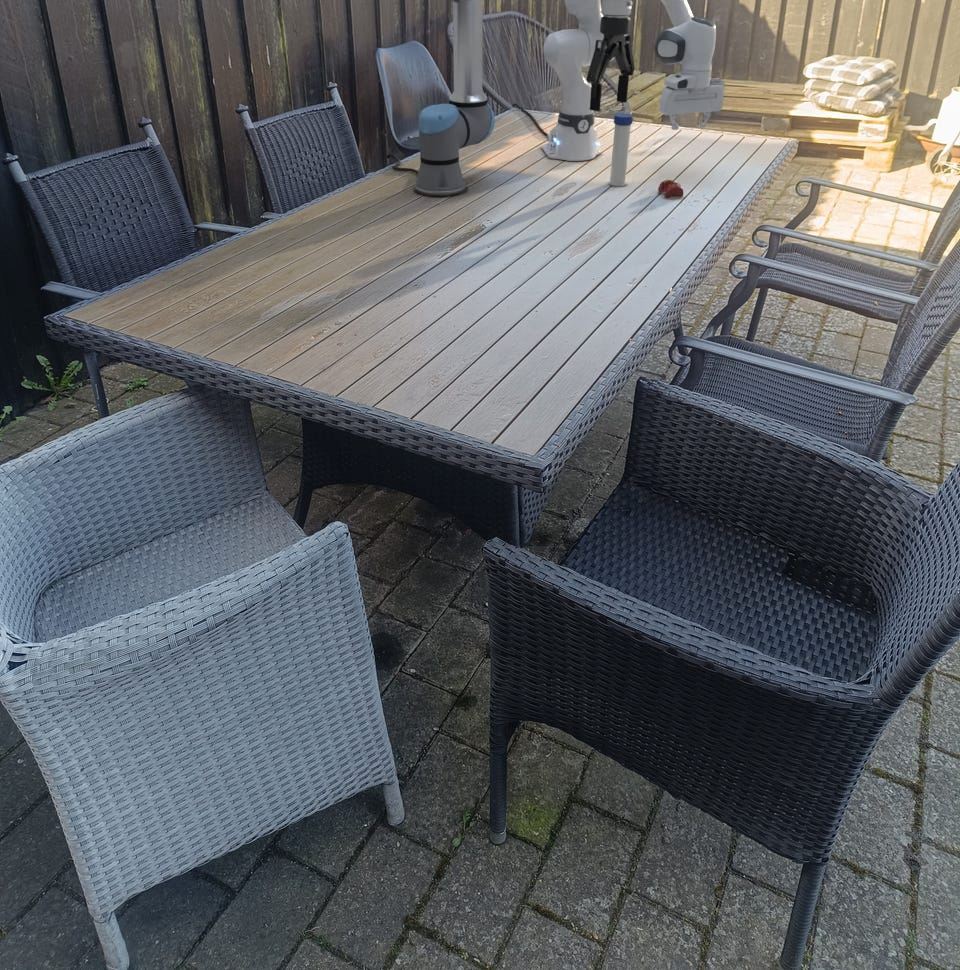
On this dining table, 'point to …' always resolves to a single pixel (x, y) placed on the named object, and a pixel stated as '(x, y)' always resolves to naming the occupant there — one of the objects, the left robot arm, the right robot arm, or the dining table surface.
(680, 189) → the dental model
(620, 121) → the lid
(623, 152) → the white cylinder
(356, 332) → the dining table surface
